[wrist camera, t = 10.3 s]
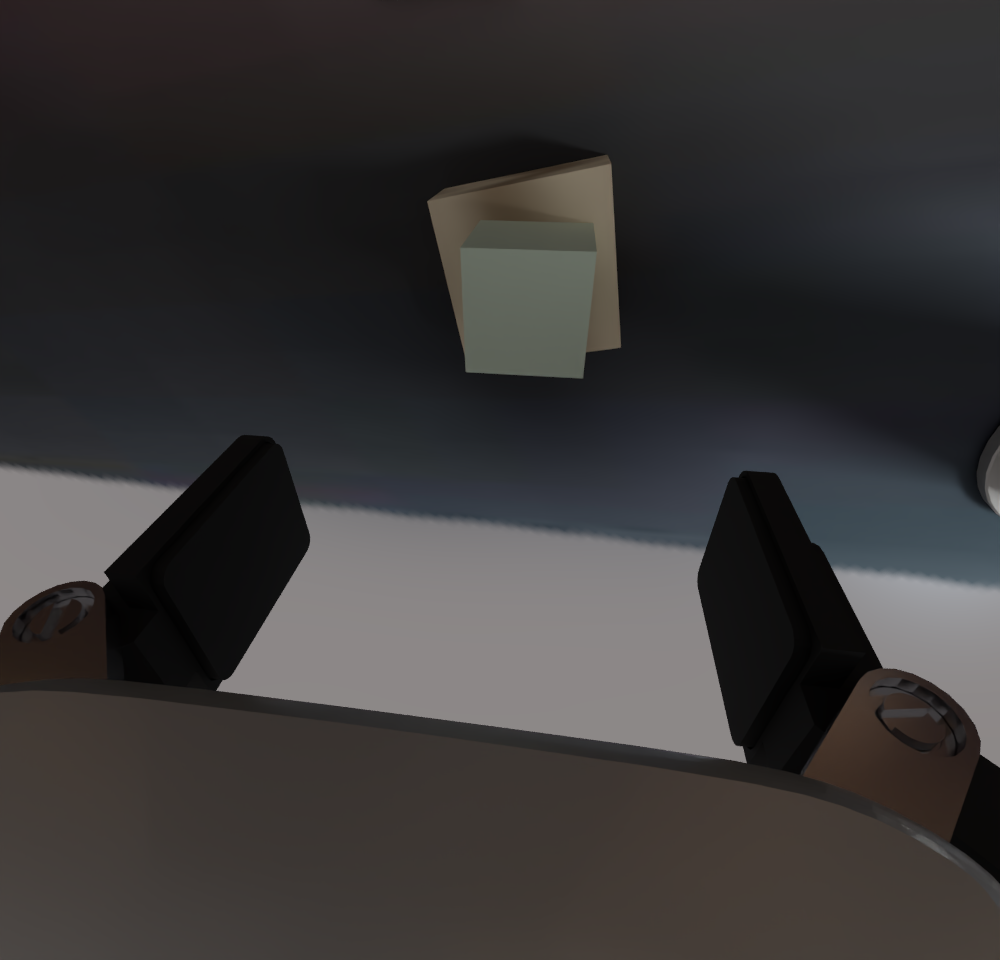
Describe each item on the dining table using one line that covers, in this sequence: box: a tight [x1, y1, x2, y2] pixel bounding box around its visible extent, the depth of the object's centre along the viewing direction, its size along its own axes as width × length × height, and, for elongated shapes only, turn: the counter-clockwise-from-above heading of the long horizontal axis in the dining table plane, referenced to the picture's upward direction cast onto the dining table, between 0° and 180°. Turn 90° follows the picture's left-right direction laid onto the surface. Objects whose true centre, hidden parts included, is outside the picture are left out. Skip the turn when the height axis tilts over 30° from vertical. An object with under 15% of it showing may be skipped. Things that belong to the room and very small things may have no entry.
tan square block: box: [427, 155, 621, 354], centre depth 26 cm, size 8×8×4 cm
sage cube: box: [460, 220, 597, 379], centre depth 22 cm, size 5×5×5 cm
